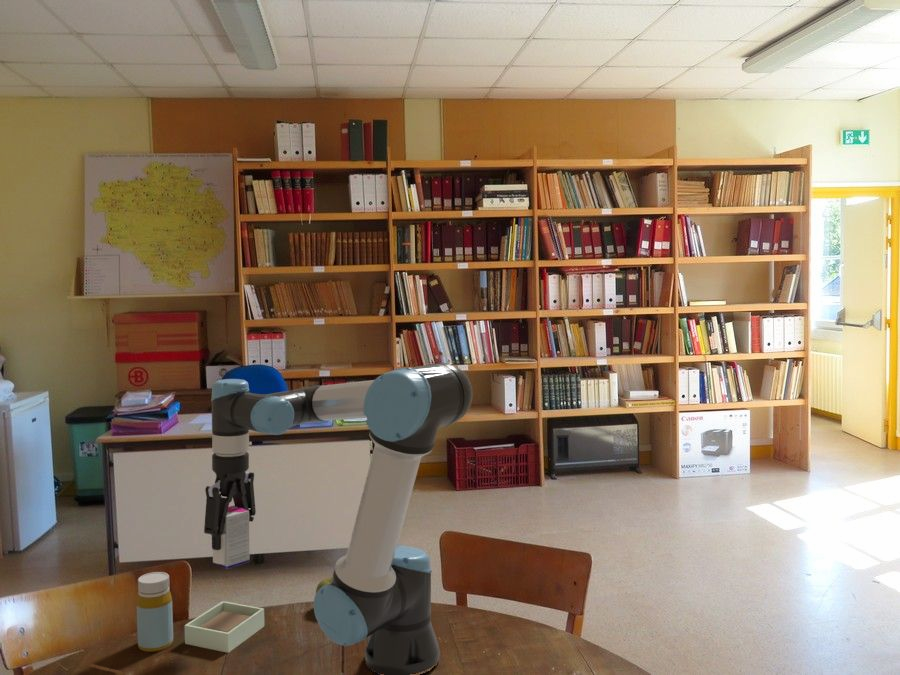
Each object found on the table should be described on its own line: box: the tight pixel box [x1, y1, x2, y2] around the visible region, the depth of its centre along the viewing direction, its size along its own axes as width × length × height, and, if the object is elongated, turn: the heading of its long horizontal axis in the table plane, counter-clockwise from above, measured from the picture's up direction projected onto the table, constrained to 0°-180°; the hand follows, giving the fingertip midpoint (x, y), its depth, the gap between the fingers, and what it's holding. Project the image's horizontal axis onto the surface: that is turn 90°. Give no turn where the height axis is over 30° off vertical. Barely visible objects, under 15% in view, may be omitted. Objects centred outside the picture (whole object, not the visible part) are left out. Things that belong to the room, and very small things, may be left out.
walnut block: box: [200, 611, 250, 633], centre depth 171 cm, size 7×8×3 cm
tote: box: [184, 600, 265, 653], centre depth 171 cm, size 11×13×4 cm
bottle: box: [136, 571, 174, 653], centre depth 166 cm, size 7×7×15 cm
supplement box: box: [215, 504, 250, 570], centre depth 169 cm, size 6×6×12 cm
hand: (231, 556), depth 169 cm, fingers closed on supplement box, 7 cm apart
